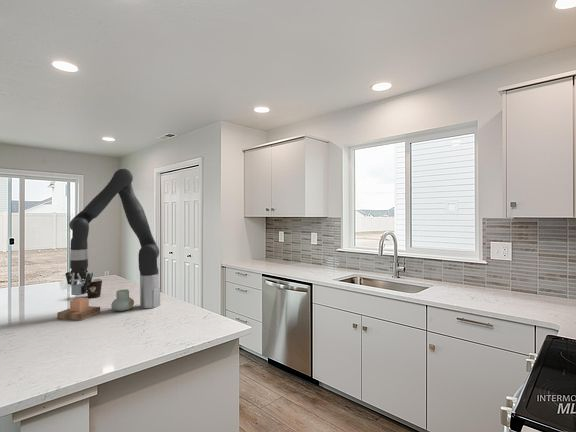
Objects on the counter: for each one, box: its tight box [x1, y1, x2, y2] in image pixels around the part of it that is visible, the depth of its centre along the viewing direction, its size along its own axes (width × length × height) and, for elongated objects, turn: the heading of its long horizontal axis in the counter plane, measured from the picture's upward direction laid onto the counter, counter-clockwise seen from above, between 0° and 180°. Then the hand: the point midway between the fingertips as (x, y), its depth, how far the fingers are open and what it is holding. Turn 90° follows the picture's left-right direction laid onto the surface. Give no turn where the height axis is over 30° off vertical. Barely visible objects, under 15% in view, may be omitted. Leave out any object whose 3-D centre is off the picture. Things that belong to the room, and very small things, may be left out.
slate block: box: [70, 283, 87, 296], centre depth 160 cm, size 4×4×4 cm
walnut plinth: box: [56, 305, 101, 321], centre depth 160 cm, size 13×12×3 cm
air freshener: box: [110, 288, 135, 312], centre depth 171 cm, size 11×8×10 cm
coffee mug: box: [86, 278, 103, 299], centre depth 197 cm, size 12×9×10 cm
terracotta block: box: [69, 297, 90, 312], centre depth 160 cm, size 6×6×5 cm
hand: (79, 293), depth 160 cm, fingers closed on slate block, 4 cm apart
